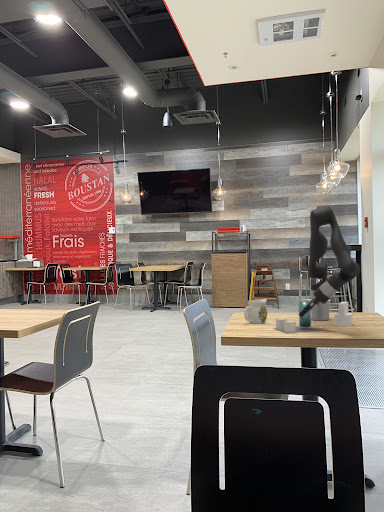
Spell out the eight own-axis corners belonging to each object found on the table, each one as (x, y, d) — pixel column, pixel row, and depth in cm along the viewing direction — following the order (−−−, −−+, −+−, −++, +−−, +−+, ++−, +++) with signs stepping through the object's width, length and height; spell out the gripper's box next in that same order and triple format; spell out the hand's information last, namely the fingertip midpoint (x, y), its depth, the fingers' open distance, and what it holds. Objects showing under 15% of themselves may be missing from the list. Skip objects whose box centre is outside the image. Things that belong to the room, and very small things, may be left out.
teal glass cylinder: (306, 324, 216) (306, 301, 216) (313, 326, 210) (312, 302, 210) (297, 325, 214) (296, 301, 214) (303, 327, 209) (303, 303, 209)
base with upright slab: (337, 322, 236) (337, 301, 236) (354, 324, 231) (354, 302, 231) (332, 325, 229) (332, 303, 229) (349, 326, 224) (349, 304, 224)
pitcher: (237, 326, 231) (237, 301, 231) (259, 322, 243) (258, 298, 242) (252, 328, 223) (252, 302, 222) (274, 324, 234) (274, 299, 234)
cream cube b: (282, 328, 215) (282, 318, 215) (287, 329, 211) (286, 319, 211) (275, 328, 214) (275, 318, 214) (279, 330, 210) (279, 319, 210)
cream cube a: (291, 330, 208) (291, 320, 208) (295, 332, 204) (295, 321, 204) (284, 331, 206) (283, 321, 206) (288, 332, 203) (288, 322, 202)
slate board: (304, 328, 220) (304, 325, 220) (321, 333, 207) (321, 330, 207) (272, 331, 214) (272, 328, 214) (286, 336, 201) (286, 333, 201)
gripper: (322, 285, 215) (299, 307, 221) (317, 287, 202) (292, 311, 208) (333, 296, 213) (309, 318, 218) (328, 299, 200) (303, 323, 205)
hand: (301, 315), depth 213 cm, fingers closed on teal glass cylinder, 5 cm apart
